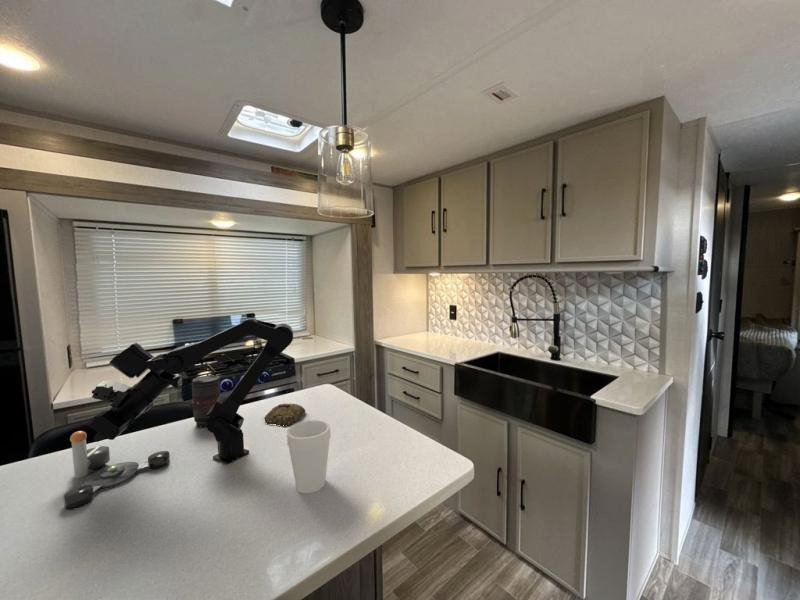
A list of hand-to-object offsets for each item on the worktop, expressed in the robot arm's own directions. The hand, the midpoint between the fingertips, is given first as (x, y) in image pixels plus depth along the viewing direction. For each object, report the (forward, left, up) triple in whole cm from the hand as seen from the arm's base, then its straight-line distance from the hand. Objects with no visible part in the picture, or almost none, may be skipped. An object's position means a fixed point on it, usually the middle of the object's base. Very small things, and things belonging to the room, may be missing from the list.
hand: (96, 440), depth 79 cm
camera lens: (+6, -30, -10) cm, 32 cm away
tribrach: (-1, -2, -9) cm, 9 cm away
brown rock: (-14, -44, -10) cm, 47 cm away
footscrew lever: (+5, 0, -8) cm, 9 cm away
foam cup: (-48, -20, -10) cm, 53 cm away
